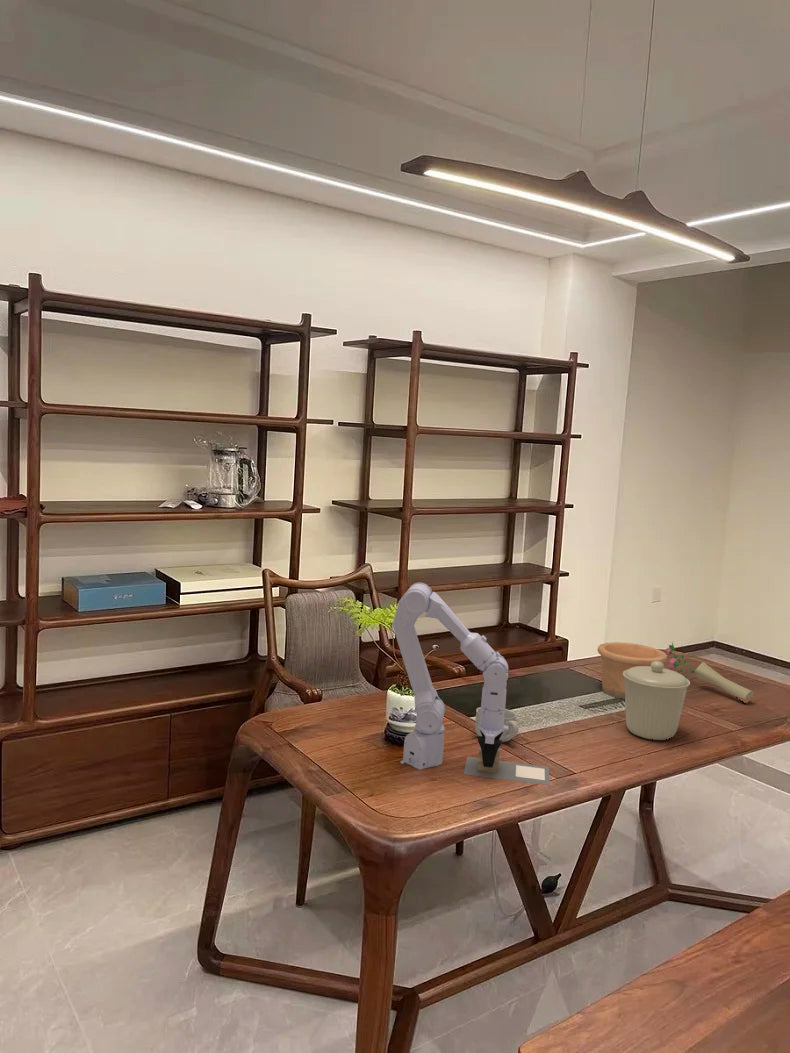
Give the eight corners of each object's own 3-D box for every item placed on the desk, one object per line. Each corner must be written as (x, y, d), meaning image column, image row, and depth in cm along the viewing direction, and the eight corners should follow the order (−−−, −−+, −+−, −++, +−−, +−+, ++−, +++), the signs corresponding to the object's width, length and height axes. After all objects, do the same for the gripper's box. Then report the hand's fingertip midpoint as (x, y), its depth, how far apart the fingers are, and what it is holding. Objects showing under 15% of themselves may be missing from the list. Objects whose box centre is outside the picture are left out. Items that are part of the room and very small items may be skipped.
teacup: (467, 734, 218) (469, 705, 217) (502, 731, 222) (505, 703, 221) (491, 754, 205) (493, 724, 204) (528, 751, 209) (530, 721, 208)
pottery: (615, 704, 252) (619, 660, 251) (582, 683, 274) (586, 641, 272) (676, 703, 257) (680, 659, 256) (640, 682, 279) (644, 642, 277)
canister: (648, 749, 216) (656, 672, 213) (604, 725, 232) (610, 654, 230) (698, 742, 223) (706, 668, 221) (652, 720, 240) (659, 651, 237)
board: (463, 777, 189) (463, 773, 189) (466, 760, 200) (467, 755, 200) (549, 789, 186) (549, 784, 186) (548, 770, 197) (549, 766, 197)
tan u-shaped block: (497, 773, 191) (499, 748, 190) (477, 770, 192) (479, 746, 191) (498, 765, 196) (500, 741, 195) (478, 762, 196) (480, 739, 196)
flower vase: (733, 726, 262) (649, 674, 289) (757, 711, 268) (672, 661, 295) (738, 697, 257) (651, 647, 284) (762, 682, 263) (674, 634, 289)
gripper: (508, 719, 184) (504, 776, 186) (510, 700, 198) (506, 753, 200) (478, 715, 185) (473, 772, 187) (482, 696, 200) (478, 749, 201)
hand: (488, 762), depth 193 cm, fingers closed on tan u-shaped block, 5 cm apart
